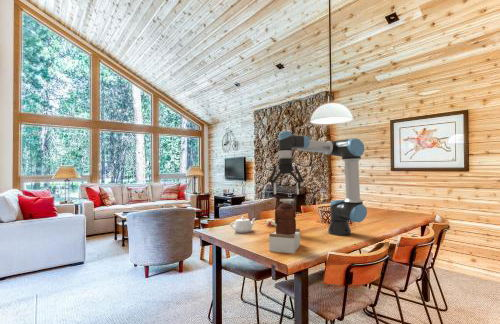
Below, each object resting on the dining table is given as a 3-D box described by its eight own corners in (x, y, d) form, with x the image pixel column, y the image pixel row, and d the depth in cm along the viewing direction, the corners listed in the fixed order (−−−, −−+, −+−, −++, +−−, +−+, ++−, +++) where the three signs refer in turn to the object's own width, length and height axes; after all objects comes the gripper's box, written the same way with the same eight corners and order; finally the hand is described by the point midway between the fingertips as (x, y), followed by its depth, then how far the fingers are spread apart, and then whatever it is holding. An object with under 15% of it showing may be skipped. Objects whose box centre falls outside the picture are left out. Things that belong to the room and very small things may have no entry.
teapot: (235, 235, 192) (235, 219, 192) (225, 231, 204) (225, 216, 204) (261, 230, 204) (261, 216, 205) (250, 227, 216) (250, 213, 216)
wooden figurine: (292, 231, 167) (291, 201, 167) (296, 234, 161) (296, 202, 161) (273, 233, 163) (273, 202, 164) (277, 236, 157) (277, 203, 158)
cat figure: (291, 231, 207) (271, 223, 229) (291, 220, 207) (272, 212, 228) (280, 233, 202) (261, 224, 224) (280, 221, 202) (261, 213, 223)
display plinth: (300, 244, 168) (299, 228, 168) (294, 253, 151) (294, 235, 151) (277, 242, 173) (277, 227, 173) (269, 251, 156) (269, 233, 156)
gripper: (307, 157, 164) (308, 193, 163) (266, 158, 172) (267, 193, 172) (306, 157, 157) (306, 195, 156) (263, 158, 165) (264, 194, 165)
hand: (286, 194), depth 164 cm, fingers open, 13 cm apart
